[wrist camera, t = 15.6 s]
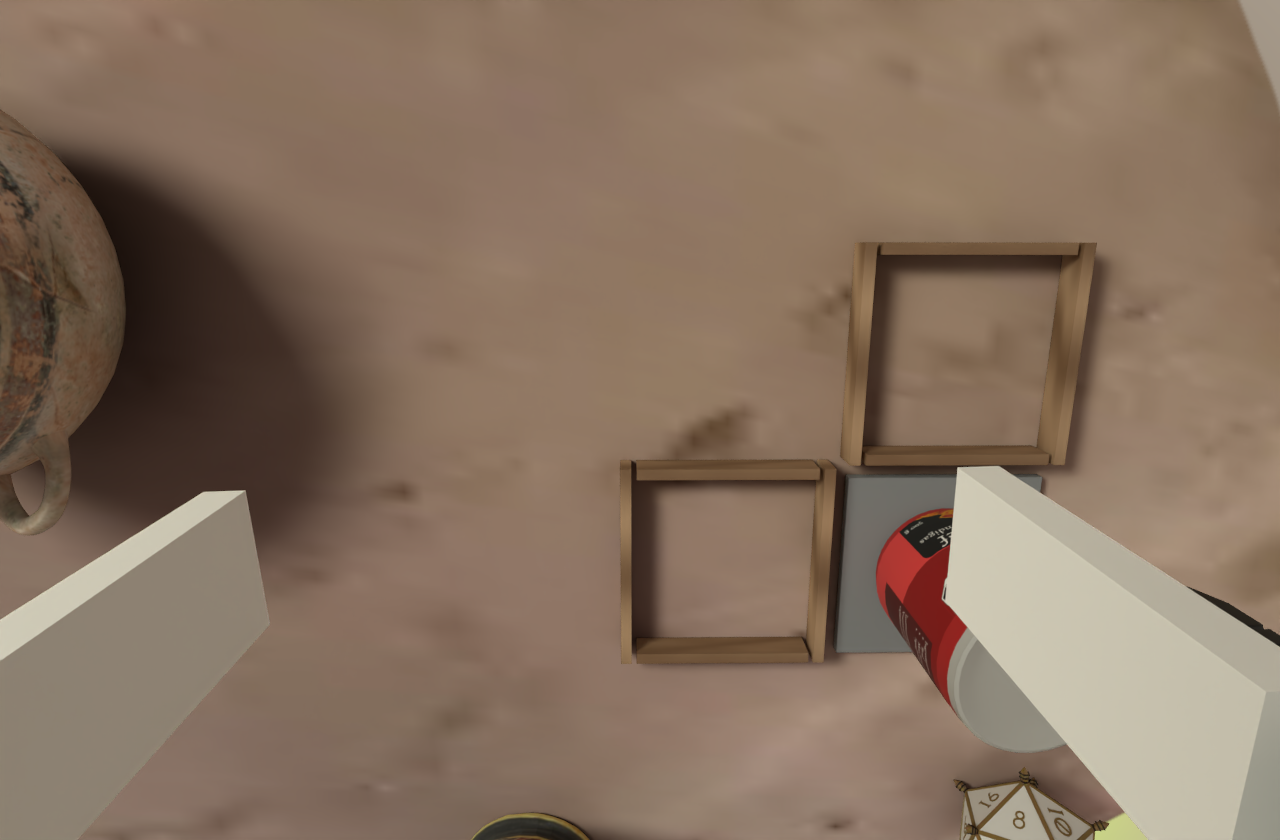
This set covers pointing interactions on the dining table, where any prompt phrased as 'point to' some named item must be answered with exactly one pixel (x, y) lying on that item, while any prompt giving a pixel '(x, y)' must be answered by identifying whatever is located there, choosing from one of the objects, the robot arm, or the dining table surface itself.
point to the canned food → (953, 639)
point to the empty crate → (1059, 367)
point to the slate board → (865, 530)
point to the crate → (735, 646)
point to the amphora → (529, 828)
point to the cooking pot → (50, 319)
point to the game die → (1019, 814)
